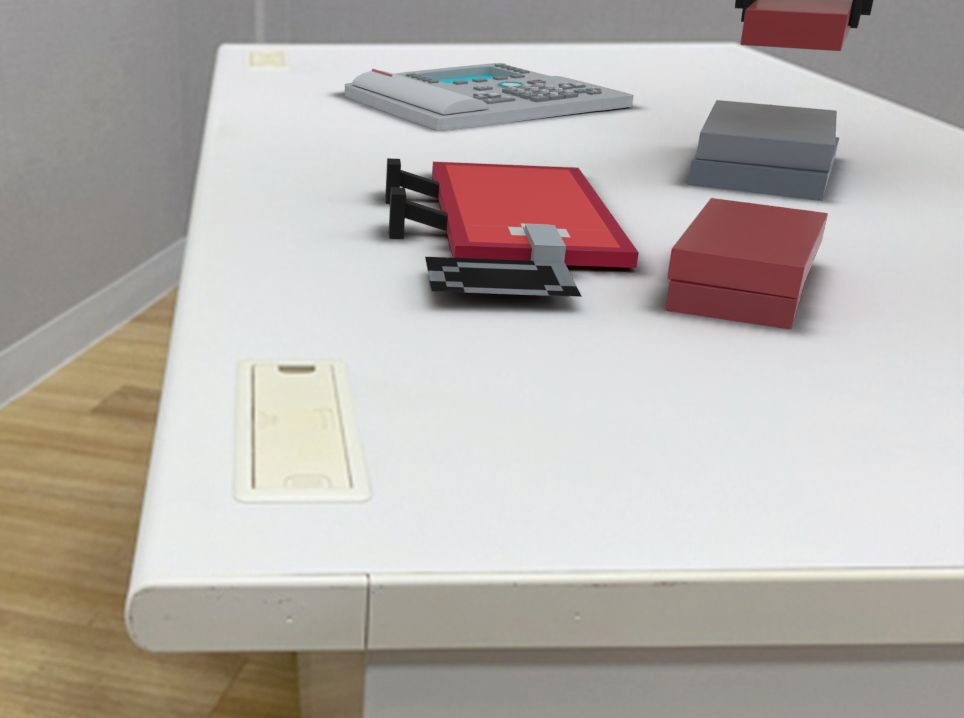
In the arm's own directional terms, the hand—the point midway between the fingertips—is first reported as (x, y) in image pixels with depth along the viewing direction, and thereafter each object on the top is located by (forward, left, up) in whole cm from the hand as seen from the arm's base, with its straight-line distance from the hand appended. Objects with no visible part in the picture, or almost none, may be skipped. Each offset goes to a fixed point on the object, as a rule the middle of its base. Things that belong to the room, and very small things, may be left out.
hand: (800, 21), depth 91 cm
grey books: (0, 0, -11) cm, 11 cm away
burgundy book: (0, 0, -1) cm, 1 cm away
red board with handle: (+1, +30, -11) cm, 32 cm away
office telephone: (+34, -1, -11) cm, 36 cm away
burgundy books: (-16, +26, -11) cm, 32 cm away
